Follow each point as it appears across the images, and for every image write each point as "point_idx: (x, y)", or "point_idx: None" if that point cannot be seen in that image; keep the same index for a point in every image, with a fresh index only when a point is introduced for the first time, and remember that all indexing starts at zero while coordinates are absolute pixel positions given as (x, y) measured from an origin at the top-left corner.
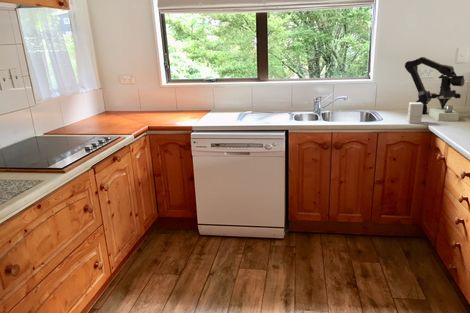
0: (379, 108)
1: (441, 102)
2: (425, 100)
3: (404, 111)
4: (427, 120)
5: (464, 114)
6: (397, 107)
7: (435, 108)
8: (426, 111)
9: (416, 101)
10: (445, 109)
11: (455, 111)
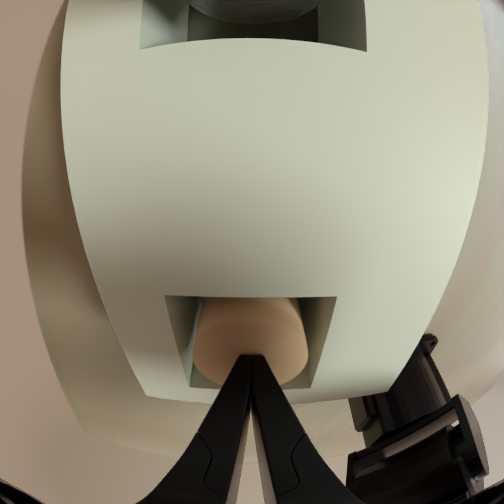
0: None
1: (319, 463)
2: (460, 454)
3: None
4: (488, 41)
5: (44, 325)
6: None
7: (349, 367)
8: None
9: (480, 431)
10: (201, 324)
11: (63, 65)
